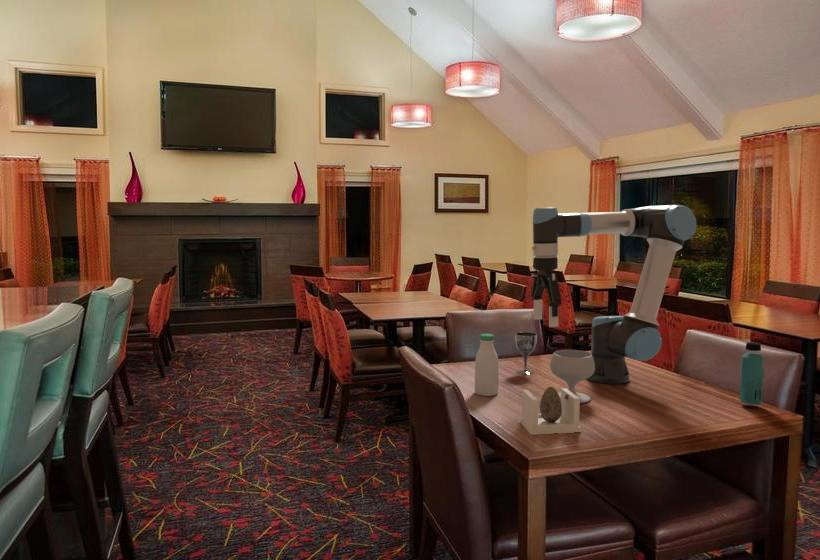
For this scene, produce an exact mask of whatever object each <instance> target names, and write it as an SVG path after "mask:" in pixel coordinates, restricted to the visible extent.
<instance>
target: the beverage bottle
mask: <svg viewBox="0 0 820 560" xmlns="http://www.w3.org/2000/svg"><path fill="white" fill-rule="evenodd" d="M745 350H746V351H752V352H745V353H743V354H742V355H741V360H740V361H741V362H740V363H741V364H740V365H741V366H740V378H739V388H738V389H739V390H738V391H739V394H738V395H739V396H738V397H739V398H738V399H739V401H740V402H741V403H743V404H746V405H754V406H757V405H762V404H763V402H764V388H765V387H764V378H765V377H764V376H765V357H764V356H763V355H762V354H761V353H758V352H760V351H761V350H762V345H761V343H759V342H752V341H751V342H750V341H749V342H746V344H745Z"/></svg>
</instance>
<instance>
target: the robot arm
mask: <svg viewBox="0 0 820 560" xmlns="http://www.w3.org/2000/svg"><path fill="white" fill-rule="evenodd" d="M696 231H697V219H696V216H695V214H694V212H693V210H692V209H690V208H689V207H688V206H686V205H682V204H675V203H674V204H666V205H663V204H661V205H648V206H641V207H635V208H624V209H622V210H621V211H610V212H609V211H606V212H605V211H604V212H567V213H566V212H564V213H559V212H558V208H557V207H536V208H535V209H533V214H532V240H533V242H532V244H533V246H532V247H531V250H533V251H532V252H533V256H534V257H533V261H532V266H533V269H534V271H533V280H532V281H533V282H532V285H531V286H532V287H531V291H530V297H531V298H532V300H533V320H535V321H536V320H543V299H544V298H543V294H544V290H545V291H546V294H547V297H548V302H549V303H548V306H547V307H548V327H549V328H558V327H559V306H560V305H562V298H561V292H560V287H559V281H558V279H559V277H558V273H554V270H557V269H558V262H559V261H558V260H559V259H558V257H557V256H558V254H559V252H558V250H559V245H558V240H559V239H558V238H570V237H571V238H573V237H575V238H576V237H578V238H580V237H585V236H589V235H609V234H610V235H611V234H613V235H614V234H615V235H616V234H620V235H621V236H624V237H638V238H644V239H646V241H647V243H648V244H649V247H648V250H647V254H646V257H645V260H644V263H643V267H642V270H641V273H640V277H639V280H638V283H637V287H636V290H635V294H634V297H633V301H632V304H631V307H630V311H629V312H628V313H625V314H624V315H607V316H606V315H603V316H601V315H600V316H596V317H594V318H592V321H591V327H590V328H591V347H590V348H591V352H590V354H591V355H592V357H593V359H594V363H595V371H594V373H593V375H592V376H590V377H589V378H587V379H586V380H589V381H591V382H594V383H600V384H608V385H609V384H610V385H618V384H619V385H621V384H625V383H628V382H630V372H629V368H628V365H627V361H626V358H629V359H631V360H633V361H640V362H641V361H643V362H646V361H649V360H651V359H652V358H655V356H656V355H657V354H658V353H659V351H660V350H661V347H662V343H663V339H662V337H661V336H662V335H661V333H660V332H659V331H658V330H659V327H660V324H659V322H658V320H657V317H658V313H659V310H660V306H661V303H662V301H663V300H662V299H663V297H664V294H665V293H664V292H665V290H666V286H667V282H668V280H669V276H670V273H671V270H672V267H673V263H674V259H675V257H676V254H677V252H678V251H680V250H681V249H683V247H684V244H685V243H684V242H685V241H687V240H689V239H691V238H692V237H693V236H694V235H695V233H696Z"/></svg>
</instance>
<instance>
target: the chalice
mask: <svg viewBox="0 0 820 560" xmlns="http://www.w3.org/2000/svg"><path fill="white" fill-rule="evenodd" d="M549 368H550V371H551V373H552V374H553V375H555V376H556V377H557V378H559V379H561V380H563V381H564V383H566V384H567V386H568V390H569V391H570V392H572V393H573V394H574V395H576V396H577V397H578V398H580V404H586V403H589V402H591V401H592V398H591V397H590V396H589V395H588V394H585V393H583V392H582V393H581V392H577V391H575V389H576V386H577V384H579V383H580V382H582V381H584V380H588V379H587V378H589V377H590V376H592V375H593V373H594V371H595V363H594V359H593V357H592V355H591V352H589V351H585V350H580V349H579V350H578V349H559V350H556V351H554V352H553V353H552V356H551V359H550V363H549ZM557 392H558V394H559V397H560V400H561V391H560V392H559V391H557Z"/></svg>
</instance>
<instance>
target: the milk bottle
mask: <svg viewBox="0 0 820 560" xmlns="http://www.w3.org/2000/svg"><path fill="white" fill-rule="evenodd" d="M479 342H480V346H479V348H478V350H477V353H476V355H475V361H474V362H475V364H474V392H475V394H476V395H478V396H482V397H493V396H497V395H498V393H499V357H498V354H497V351H496V349H495V346H494V342H495V335H494V334H492V333H482V334H480V335H479Z"/></svg>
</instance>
